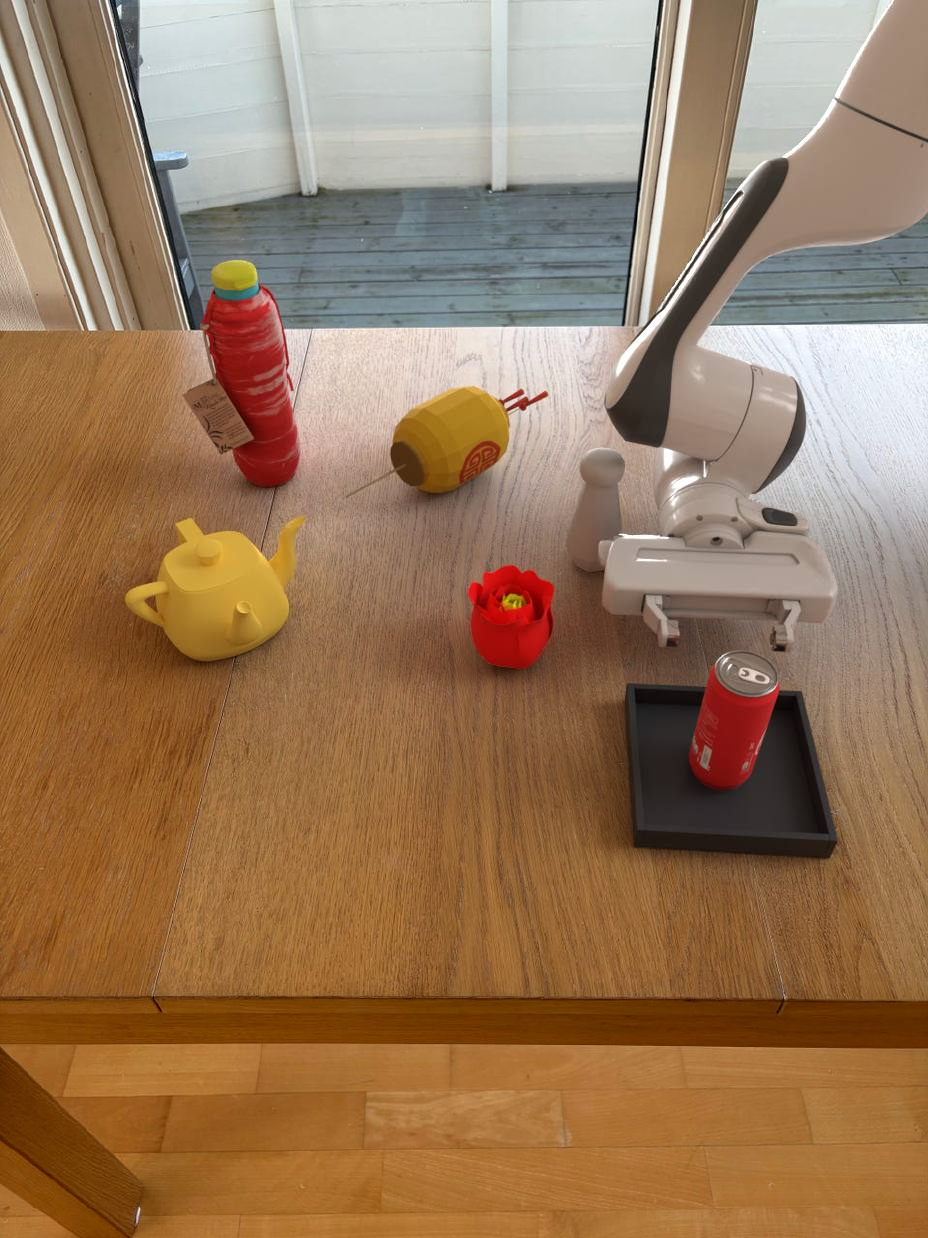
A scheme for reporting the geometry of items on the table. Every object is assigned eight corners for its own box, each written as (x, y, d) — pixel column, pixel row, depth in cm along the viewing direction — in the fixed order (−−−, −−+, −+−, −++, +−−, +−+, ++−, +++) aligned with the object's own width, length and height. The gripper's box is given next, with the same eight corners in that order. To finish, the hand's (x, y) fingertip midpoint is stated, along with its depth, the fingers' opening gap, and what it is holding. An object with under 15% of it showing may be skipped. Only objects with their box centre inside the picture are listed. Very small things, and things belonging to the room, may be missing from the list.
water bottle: (235, 516, 105) (186, 303, 88) (198, 484, 110) (144, 275, 92) (323, 473, 111) (294, 265, 93) (285, 444, 115) (250, 240, 98)
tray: (795, 709, 85) (802, 690, 83) (829, 858, 74) (838, 841, 72) (624, 701, 86) (627, 682, 84) (633, 847, 75) (637, 829, 73)
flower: (458, 636, 92) (456, 574, 86) (530, 615, 94) (534, 553, 88) (489, 693, 86) (490, 631, 81) (566, 669, 88) (572, 607, 83)
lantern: (519, 334, 112) (319, 434, 97) (579, 380, 109) (381, 492, 94) (504, 399, 120) (316, 501, 105) (559, 444, 117) (373, 556, 102)
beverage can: (696, 736, 82) (721, 639, 74) (756, 757, 80) (789, 660, 72) (679, 781, 79) (703, 684, 70) (740, 803, 77) (773, 708, 69)
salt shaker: (626, 574, 98) (641, 470, 89) (572, 581, 97) (582, 476, 88) (610, 538, 102) (624, 436, 93) (558, 545, 101) (566, 442, 92)
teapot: (265, 687, 87) (247, 609, 80) (133, 661, 90) (105, 583, 83) (318, 588, 97) (307, 511, 90) (198, 567, 99) (177, 491, 92)
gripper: (599, 508, 88) (605, 612, 78) (825, 516, 87) (859, 622, 77) (593, 560, 92) (598, 664, 82) (808, 568, 91) (838, 675, 81)
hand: (726, 644), depth 79 cm, fingers open, 8 cm apart
